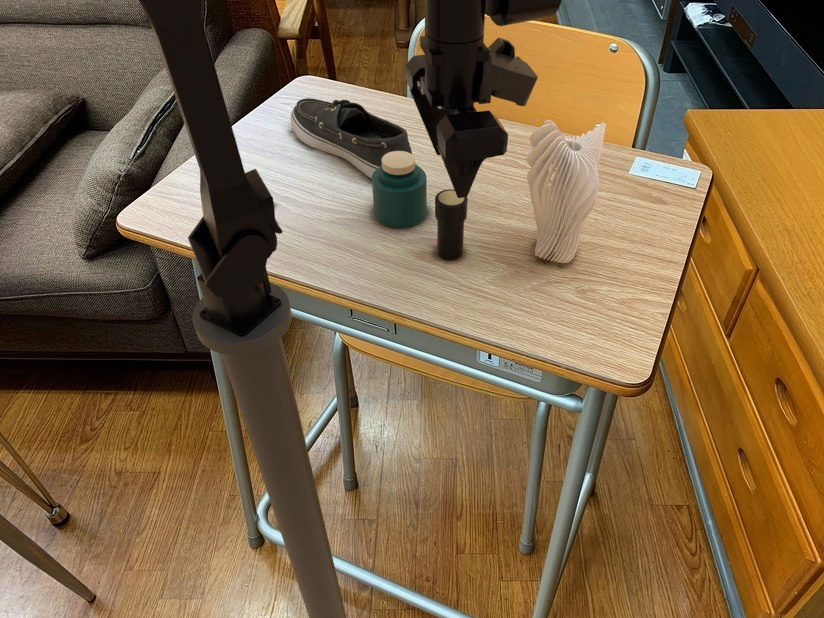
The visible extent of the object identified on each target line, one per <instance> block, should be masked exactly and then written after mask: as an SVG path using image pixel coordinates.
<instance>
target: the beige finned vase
mask: <svg viewBox="0 0 824 618" xmlns="http://www.w3.org/2000/svg"><path fill="white" fill-rule="evenodd" d="M606 125H607V124H606V122H601V123H600V125H599V126H595V127H594V128H593V130H588V131H587V133H582V134H581V136H580V135H576V139H575V135H572V137H571V136H570V135H567V136H566V135H564V134H562V132H561V130H560V128H559V126H557V124H556V123H555V122H554V121H552V120H550V119H545V120H544V121H543V123H542V125H541V126H540V127H538V128H536V129H535V130H534V132H533V133H532V134H531V135H530V137H529V142H530V144H531V146H532V148H533V149H532V150H531V151H530V152H529V153H528V155H527V156H526V162H527V164H528V165H529V166H530V169H529V171H528V172H527V175H526V178H527V183H528V187H529V197H530V201H531V206H532V208H533V214H534V219H535V225H536V230H537V231H536V232H537V236H536V244H535V248H534V255H535V256H536V257H538V258H539V259H543V260H546V261H550V262H553V263H555V262H556V263H560V264H568V263H569V262H571V261H572V260H573V259H574V257H575V255H576V252H577V249H578V248H579V244H580V240H581V236H582V233H583V229H584V226H585V221H587V219H588V217H589V215H590V214H591V212H592V211H593V210H594V207H595V205H596V202H597V198H598V193H599V188H600V181H599V180H600V179H599V178H600V177H599V164H600V161H601V156H602V151H603V146H604V140H605V134H606V133H605V132H606V127H607V126H606Z"/></svg>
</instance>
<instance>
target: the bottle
mask: <svg viewBox="0 0 824 618" xmlns="http://www.w3.org/2000/svg"><path fill="white" fill-rule="evenodd" d="M371 188H372V199H373V201H372V202H373V211H374V212H373V213H374V214H373V215H374V217H375V219H376V221H377V222H379V223H380V224H382V225H383V226H386V227H389V228H395V229H404V228H410V227H414V226H416V225H418V224H420V223H422V222H423V221H424V219H426V217H427V213H428V211H427V210H428V207H427V205H428V203H427V200H428V199H427V198H428V196H427V195H428V193H427V192H428V191H427V174H426V172H425V170H424V169H422V168H421V167H420V166H418V164H417V163H416V158H415V156H414V155H413V153H412V154H410V153H408V152H404V151H393V152H389V153H387V154H385V155H384V156H383V157H382V165H381V166H380V167H379V168H378V169H376V170H375V171H374V173H373V174H372V179H371Z"/></svg>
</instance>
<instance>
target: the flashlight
mask: <svg viewBox="0 0 824 618" xmlns="http://www.w3.org/2000/svg"><path fill="white" fill-rule="evenodd" d="M468 199H469V198H468V196H467V197H464V198H458V197H457V195H456V193H455V190H454V188H453V189H452V188H451V189H443V190H441V191H439V192H438V193H436V195H435V197H434V217H435V219H436V221H437V225H436V227H437V228H436V229H437V230H436V233H437V237H436V239H437V242H436V243H437V252H436V253H437V256H438V257H439V258H441V259H442V260H445V261H455V260H459V259H460V258H462V256H463V254H464V234H465V221H466V220H467V217H468V201H469V200H468Z"/></svg>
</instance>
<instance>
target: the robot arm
mask: <svg viewBox="0 0 824 618" xmlns="http://www.w3.org/2000/svg"><path fill="white" fill-rule="evenodd" d="M138 2H139V4H140V6H141V8H142V9H143V11H144V13H145V15H146V17H147V19H148V21H149V24H150V26H151V29H152V33H153V35H154V39H155V41H156V44H157V46H158V47H157V48H158V50H159V52H160V53H159V54H160V55H161V58H162V59H161V60H162V61H163V65H164V67H165V71H166V73H167V76H168V79H169V82H170V85H171V88H172V91H173V94H174V97H175V100H176V103H177V106H178V108H179V112H180V114H181V115H180V116H181V117H182V121H183V123H184V126H185V128H186V132H187V136H188V138H189V142H190V145H191V148H192V150H193V154H194V156H195V160H196V162H197V165H198V168H199V193H200V194H199V195H200V201H201V208H202V216H201V219H199V221H198V223H197V224H196V225H195V227H194V228H193V229H192V231H191V232H190V234H189V235H188V237H187V240H188V243H189V245H190V247H191V251H192V253H193V255H194V257H195V260H196V263H197V266H198V268H199V271H200V274H199V275H198V276H197V277H196V280H197V283H198V286H199V290H200V293H201V295H202V296H201V297H203V299H204V302H205V305H206V307H205V308H204V309H203V310H201V311H200V313H199V314H200V317H201V318H203V319H205V320H207V321H209V322H211V323H213V324H215V325H217V326H219V327H221V328H223V329H225V330H227V331H229V332H232V333H234V334H236V335H238V336H240V337H244V336H246V335H248V334H249V333H250V332H251V331H252V330H253V329H254V328H256V327H257V326H258V325H259V324H260V323H261V322H262V321H264V320H265V319H266V318H267V317H268V316H269V315H270V314H272V313H273V312H274V311H275V310H276V309H277V308H278V307H279V306H281V304H282V302H281V299H279V298H277V297H274V296H272V295H270V293H271V287H270V283H271V281H270V278H269V273H268V270H267V262H268V259H269V258H270V257H271V256H272V255H273V253H274V252H276V251H277V249H278V236H277V234H279V235H281V234H283V230H282V228H281V226H280V224H279V222H278V221H277V219H276V211H275V202H274V197H273V196H272V194H271V192H270V190H269V188H268V187H267V185H266V184H265V182H264V180H263V178H262V177H261V175H260V173H259V172H258V169H257V168H254V169H251V170H249V171H247V172H245V168H244V164H243V161H242V157H241V154H240V151H239V146H238V144H237V140H236V136H235V132H234V129H233V126H232V123H231V122H232V121H231V118H230V115H229V112H228V108H227V105H226V101H225V97H224V94H223V91H222V87H221V83H220V80H219V76H218V73H217V69H216V65H215V62H214V59H213V56H212V55H213V54H212V52H211V48H210V45H209V42H208V41H209V40H208V38H207V37H208V36H207V34H206V31H205V26H204V19H203V18H204V0H138ZM561 5H562V0H424V35H420V36H419V47H420V49H421V51H422V53H423V54H418V55H413V56H412V57H411V58H410V59H409V60H408V61H407V62H406V63H405V81H406V84H407V85H408V87H409V93H410V95H411V97H412V99H413V103H414V104H415V108H417V111H418V113H419V116H420V118H421V121H422V123H423V125H424V127H425V130H426V132H427V133H426V134H427V135H428V138H429V141H430V142H431V144H432V148H433V149H434V152H435V155H436V156H440V157H441V160H442V162H443V165H444V167H445V170H446V172H447V174H448V177H449V180H450V183H451V185H452V188H453V190H455V193H456V195H457V197H458V198H464V197H467V198H468V197H469V194H470V191H471V189H472V187H473V184H474V182H475V179H476V177H477V174H478V173H479V171H480V168H481V166H482V165H483V162H484V161H485V160H487V159H490V158H495V157H499V156H504V155H506V154H507V152H508V141H509V133H508V131H507V130H506V129H505V127H504V126H503V124H502V122H501V121H500V119H499V118H498V117H497V116H496V115H495V114H494V113H493V112H492V111H491V110H480V111H478V110H477V109H476V107H475V103H477V104H479V105H485V104H491V102H492V97H494V98H496V99H501V100H504V101H507V102H512V103H515V105H516V106H519V107H525V106H526V105H527V104H528V101H529V99H530V96H531V94H532V92H533V90H534V87H535V85H536V83H537V81H538V79H539V76H538V75H537V73H536V72H535V71H534V70H533V68H532V67H531V66H530V64H528V63H527V62H526V61H524V60H523V59H522V58H521V56H518V55H517V56H516V49H515V46H514V45H513V43H512V42H511V41H510V40H508V39H505V38H501V37H497V38H496V39H495V40H494V41H493V42H492V43H491V44H490V45H489V46H488V47H487V45H486V44H485V42H484V40H485V22H486V16H487V17H489V18H490V20H491V21H492V23H493V24H495V25H496V26H498V27H505V26H511V25H517V24H521V23H526V22H532V21H538V20H543V19H549V18H551V17H554V15H556V14H557V12H558V11H559V9H560V7H561ZM277 302H278V303H277ZM242 332H243V333H242Z"/></svg>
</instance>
